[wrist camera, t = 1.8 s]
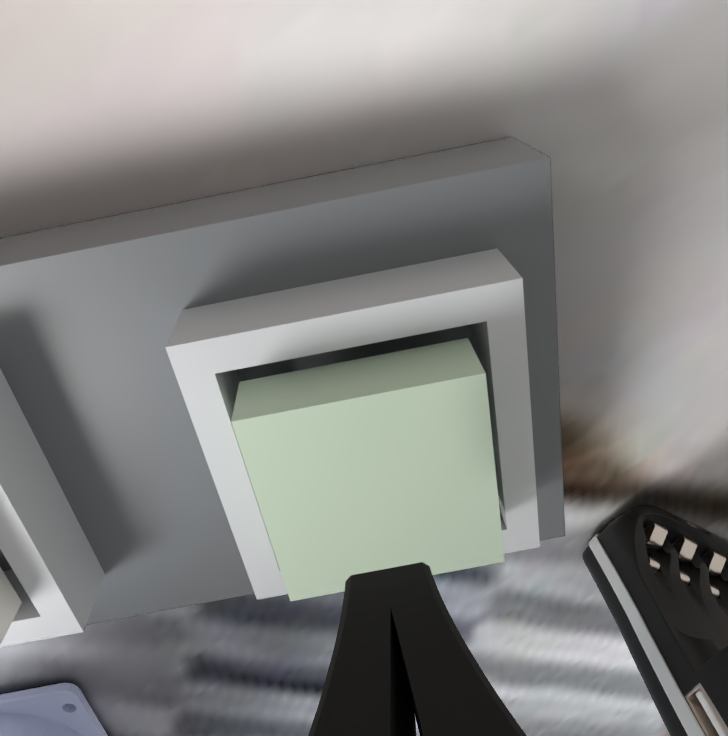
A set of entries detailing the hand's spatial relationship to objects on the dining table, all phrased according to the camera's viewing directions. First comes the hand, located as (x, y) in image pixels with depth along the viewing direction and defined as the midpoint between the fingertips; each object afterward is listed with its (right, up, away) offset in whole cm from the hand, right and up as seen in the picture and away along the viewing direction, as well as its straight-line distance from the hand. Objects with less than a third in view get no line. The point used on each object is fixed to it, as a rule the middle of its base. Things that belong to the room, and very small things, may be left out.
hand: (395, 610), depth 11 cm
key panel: (-7, +3, +8) cm, 11 cm away
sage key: (0, +2, +4) cm, 5 cm away
